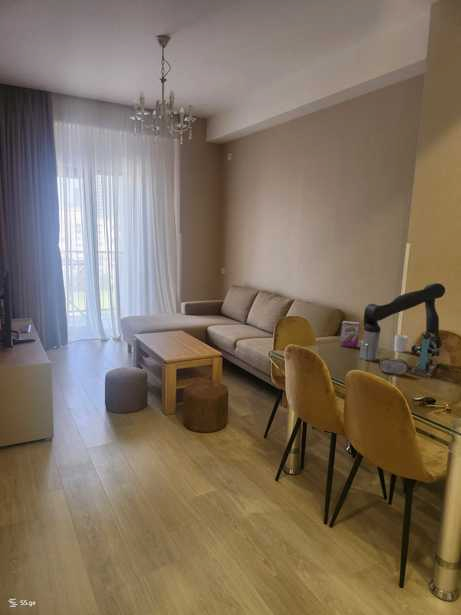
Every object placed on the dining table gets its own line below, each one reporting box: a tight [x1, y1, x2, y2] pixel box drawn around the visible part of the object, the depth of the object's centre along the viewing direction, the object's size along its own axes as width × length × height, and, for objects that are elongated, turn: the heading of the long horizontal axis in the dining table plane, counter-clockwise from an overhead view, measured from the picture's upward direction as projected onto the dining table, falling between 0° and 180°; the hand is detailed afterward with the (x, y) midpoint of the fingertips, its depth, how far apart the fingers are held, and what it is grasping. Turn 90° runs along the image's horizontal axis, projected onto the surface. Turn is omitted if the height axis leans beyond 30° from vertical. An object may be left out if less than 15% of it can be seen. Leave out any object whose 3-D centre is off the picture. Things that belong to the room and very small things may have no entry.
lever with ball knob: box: [415, 331, 432, 374], centre depth 236 cm, size 12×6×22 cm, turn 148°
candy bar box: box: [339, 320, 361, 349], centre depth 285 cm, size 11×5×16 cm, turn 77°
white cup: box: [393, 334, 409, 353], centre depth 282 cm, size 8×8×10 cm
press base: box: [409, 356, 439, 379], centre depth 245 cm, size 32×10×5 cm, turn 148°
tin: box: [378, 357, 409, 376], centre depth 232 cm, size 15×3×8 cm, turn 71°
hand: (423, 353), depth 232 cm, fingers open, 8 cm apart
